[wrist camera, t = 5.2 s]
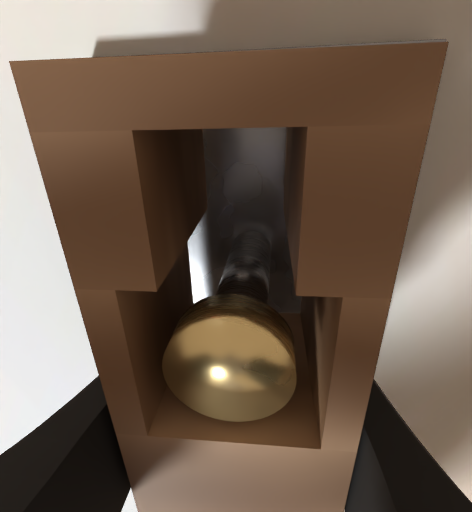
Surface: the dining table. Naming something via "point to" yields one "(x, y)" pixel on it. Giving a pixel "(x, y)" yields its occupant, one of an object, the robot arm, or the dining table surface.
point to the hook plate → (239, 282)
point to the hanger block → (188, 217)
